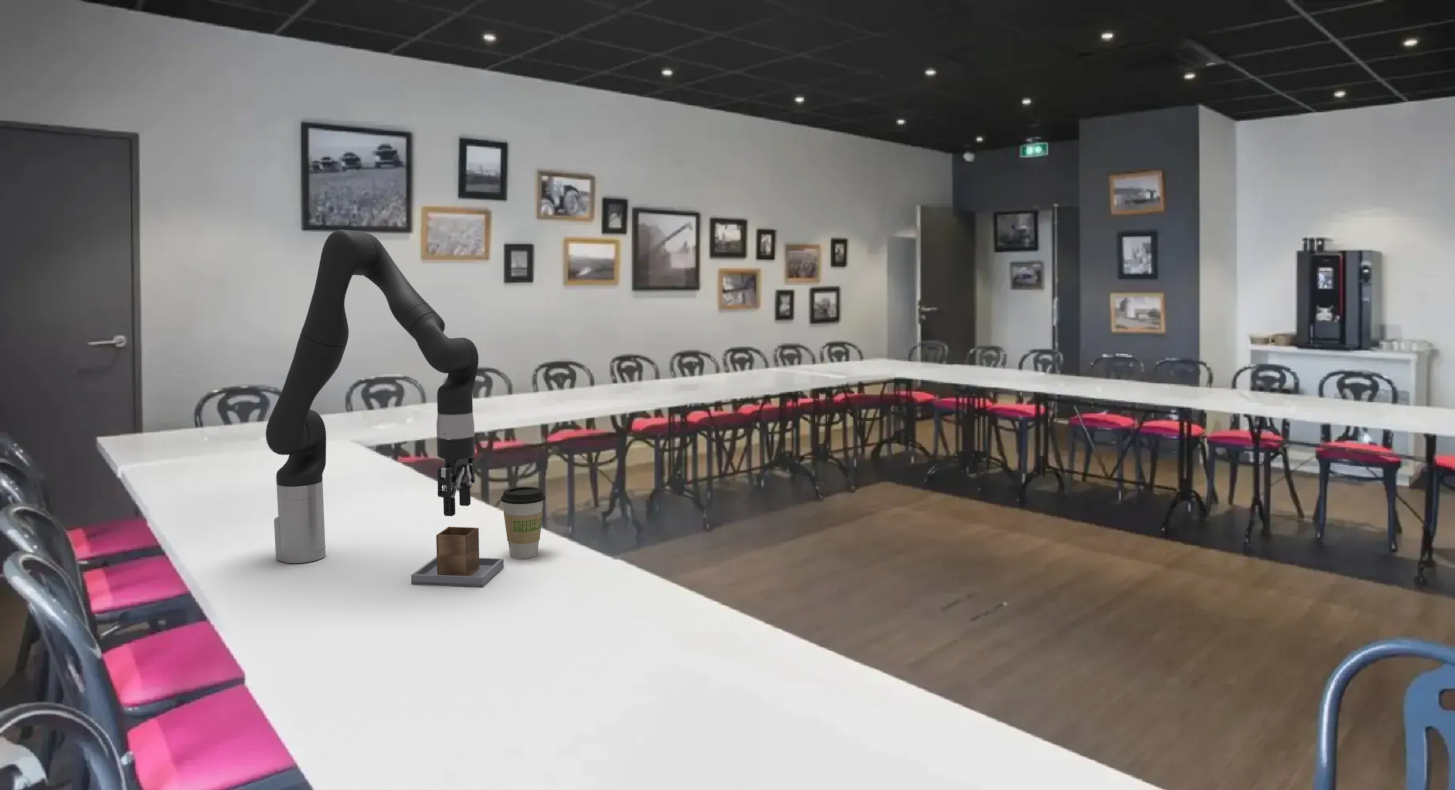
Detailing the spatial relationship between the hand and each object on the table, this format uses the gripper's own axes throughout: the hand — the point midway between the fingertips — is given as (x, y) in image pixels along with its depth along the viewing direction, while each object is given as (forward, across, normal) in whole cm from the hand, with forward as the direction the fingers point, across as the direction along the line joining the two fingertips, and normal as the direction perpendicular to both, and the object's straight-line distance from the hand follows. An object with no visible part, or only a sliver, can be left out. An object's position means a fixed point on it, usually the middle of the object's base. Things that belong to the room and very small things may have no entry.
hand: (457, 510), depth 185 cm
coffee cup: (+14, -16, +9) cm, 23 cm away
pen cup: (+14, 0, 0) cm, 14 cm away
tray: (+14, 0, 0) cm, 14 cm away
